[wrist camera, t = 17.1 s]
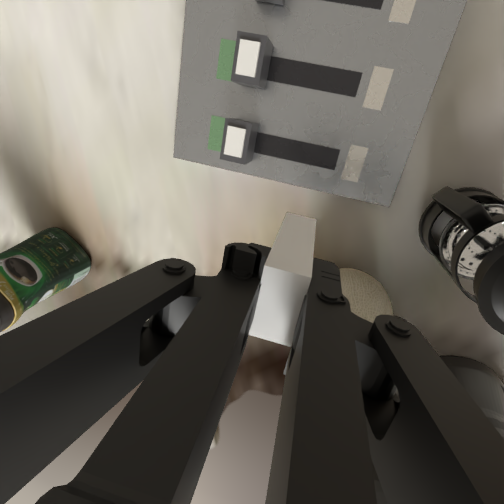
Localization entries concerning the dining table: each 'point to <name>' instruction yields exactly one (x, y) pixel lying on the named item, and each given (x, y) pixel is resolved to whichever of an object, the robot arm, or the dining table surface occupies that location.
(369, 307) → the fruit
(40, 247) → the coffee jar
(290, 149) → the panel
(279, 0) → the orange and grey switch
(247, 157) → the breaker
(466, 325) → the dining table surface
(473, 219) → the french press
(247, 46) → the breaker middle
